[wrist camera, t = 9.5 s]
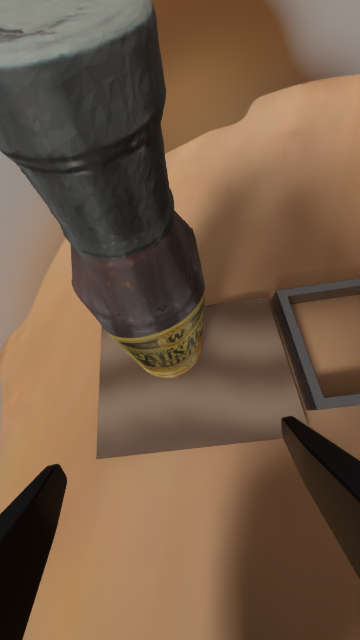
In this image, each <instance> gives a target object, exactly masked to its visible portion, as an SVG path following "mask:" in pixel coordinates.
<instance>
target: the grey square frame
mask: <svg viewBox="0 0 360 640" xmlns="http://www.w3.org/2000/svg"><path fill="white" fill-rule="evenodd" d="M356 294H360V278H358V279H351V280H345V281H338V282H331V283H325V284H318V285H311V286H305V287H298V288H291V289H285V290H278V291H276V293H275V295H274V296H273V298H272V300H271V301H272V304H273V307H274V310H275V313H276V316H277V319H278V322H279V326H280V329H281V332H282V335H283V338H284V341H285V344H286V347H287V350H288V353H289V357H290V360H291V363H292V366H293V369H294V372H295V375H296V378H297V381H298V384H299V388H300V391H301V394H302V397H303V400H304V403H305V406H306V409H307V410H321V409H329V408H338V407H346V406H355V405H360V394H354V395H346V396H338V397H329V398H324V397H323V394H322V392H321V389H320V386H319V383H318V380H317V378H316V375H315V372H314V369H313V367H312V364H311V361H310V358H309V355H308V353H307V350H306V347H305V344H304V342H303V339H302V336H301V333H300V330H299V328H298V325H297V322H296V319H295V316H294V314H293V311H292V308H291V305H290V304H295V303H302V302H308V301H315V300H322V299H329V298H336V297H343V296H349V295H356Z"/></svg>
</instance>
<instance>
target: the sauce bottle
mask: <svg viewBox="0 0 360 640" xmlns="http://www.w3.org/2000/svg"><path fill="white" fill-rule="evenodd" d="M165 98H166V88H165V82H164V74H163V67H162V60H161V54H160V48H159V42H158V32H157V21H156V14H155V10H154V6H153V3H152V0H6V1H2V2H0V151H1V152H2V153H4V154H5V155H6V156H7V157H8V158H10V159H11V160H12V161H14V162H15V163H16V164H17V165H18V166H19V167H20V169H21V171H22V172H23V173H24V174H25V175H26V177H27V178H28V180H29V181H30V182H31V184H32V185H33V187H34V188H35V189H36V191H37V192H38V194H39V195H40V196H41V197H42V199H43V200H44V201H45V203H46V204H47V205H48V207H49V209H50V211H51V213H52V214H53V215H54V217H55V218H56V219H57V220H58V222H59V223H60V226H61V228H62V230H63V234H64V236H65V237H66V239H67V240H68V241H69V242H70V243H71V260H72V286H73V288H74V291H75V293H76V294H77V296H78V297H79V299H80V300H81V301H82V302H83V303H84V304H85V306H86V307H87V308H88V309H89V310H90V311H91V313H92V314H93V315H94V316H95V317H96V319H97V320H98V321H99V322H100V324H101V325H102V327H103V329H104V330H105V331H106V332H107V333H108V334H109V335H110V336H111V337H112V338H113V339H114V340H115V341H116V342H117V343H118V344H119V345H120V346H121V347H122V348H123V349H124V350H125V351H126V352H127V353H128V354H129V355H130V356H131V357H132V358H133V359H134V360H135V361H136V362H137V363H138V364H139V365H140V366H141V367H142V368H143V369H145V370H146V371H147V372H148V373H150V374H152V375H154V376H157V377H160V378H174V377H179V376H181V375H183V374H185V373H187V372H188V371H189V370H190V369H191V368H192V367H193V366H194V364H195V363H196V362H197V360H198V358H199V356H200V353H201V347H202V329H203V309H204V293H205V284H204V279H203V274H202V269H201V264H200V259H199V254H198V249H197V244H196V239H195V235H194V232H193V229H192V228H191V227H189V225H188V224H187V223H186V222H185V221H184V220H183V219H182V218H181V217H180V216H179V215H178V214H177V213H176V212H175V211H174V200H173V195H172V192H171V190H170V188H169V181H168V175H167V168H166V161H165V153H164V142H163V137H162V130H161V123H160V122H161V119H162V115H163V108H164V104H165Z"/></svg>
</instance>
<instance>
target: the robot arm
mask: <svg viewBox="0 0 360 640" xmlns="http://www.w3.org/2000/svg"><path fill="white" fill-rule="evenodd" d="M281 428H282V436H283V439H284V441H285V443H286V445H287V448H288V450H289V452H290V454H291V456H292V458H293V460H294V463H295V465H296V467H297V469H298V471H299V473H300V475H301V478H302V480H303V482H304V483H305V485H306V487H307V489H308V491H309V492H310V494H311V496H312V498H313V499H314V501H315V503H316V504H317V506H318V508H319V510H320V511H321V513H322V515H323V516H324V518H325V520H326V522H327V523H328V525H329V527H330V529H331V530H332V532H333V534H334V535H335V537H336V539H337V541H338V542H339V544H340V546H341V547H342V549H343V551H344V553H345V554H346V556H347V558H348V560H349V561H350V563H351V565H352V566H353V568H354V570H355V572H356V573H357V575H358V577H359V578H360V461H359V460H358V459H356V458H355V457H353V456H352V455H350V454H349V453H347V452H346V451H344V450H343V449H341V448H340V447H338V446H337V445H335V444H334V443H332V442H331V441H329V440H328V439H326V438H325V437H323V436H322V435H320V434H319V433H317V432H316V431H314V430H313V429H311V428H310V427H308V426H307V425H305V424H304V423H302V422H301V421H299V420H298V419H296V418H295V417H293V416H287V417H283V418H282V419H281ZM66 485H67V477H66V475H65V473H64V472H63V470H62V468H61V466H60V465H59V464H54V465H49V466H47V467H46V468H45V469H44V470H43V471H42V472H41V473H40V474H39V475H38V476H37V477H36V478H35V479H34V480H33V481H32V482H31V483H30V484H29V485H28V486H27V487H26V488H25V489H24V490H23V491H22V492H21V493H20V494H19V495H18V497H17V498H16V499H15V500H14V501H13V502H12V503H11V504H10V505H9V506H8V507H7V508H6V509H5V510H4V511H3V512H2V513H1V514H0V640H22V639H23V636H24V633H25V629H26V626H27V623H28V620H29V617H30V613H31V610H32V607H33V604H34V601H35V597H36V594H37V591H38V588H39V584H40V581H41V578H42V575H43V572H44V568H45V565H46V562H47V559H48V555H49V552H50V549H51V546H52V543H53V539H54V536H55V532H56V529H57V525H58V520H59V516H60V512H61V507H62V503H63V498H64V494H65V489H66Z"/></svg>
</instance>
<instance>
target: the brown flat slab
mask: <svg viewBox="0 0 360 640" xmlns="http://www.w3.org/2000/svg"><path fill="white" fill-rule="evenodd" d="M287 416H293V417H295V418H296V419H298V420H299V421H301V422H302V423H304V424H305V425H307V426H308V424H307V421H306V418H305V415H304V411H303V408H302V405H301V402H300V399H299V396H298V392H297V389H296V386H295V383H294V380H293V377H292V373H291V370H290V367H289V364H288V361H287V358H286V355H285V351H284V348H283V345H282V342H281V339H280V336H279V332H278V329H277V326H276V323H275V320H274V317H273V313H272V310H271V307H270V304H269V301H268V298H267V297H261V298H255V299H248V300H241V301H234V302H228V303H221V304H214V305H208V306H204V309H203V329H202V347H201V353H200V356H199V358H198V360H197V362H196V363H195V364H194V366H193V367H192V368H191V369H190V370H189V371H188V372H187V373H185V374H183V375H181V376H179V377H174V378H160V377H157V376H154V375H152V374H150V373H148V372H147V371H146V370H145V369H143V368H142V367H141V366H140V365H139V364H138V363H137V362H136V361H135V360H134V359H133V358H132V357H131V356H130V355H129V354H128V353H127V352H126V351H125V350H124V349H123V348H122V347H121V346H120V345H119V344H118V343H117V342H116V341H115V340H114V339H113V338H112V337H111V336H110V335H109V334H108V333H107V332H106V331H105V330H104V329H103V327H102V333H101V358H100V383H99V408H98V433H97V458H96V459H102V458H111V457H120V456H129V455H138V454H147V453H156V452H164V451H173V450H182V449H191V448H200V447H209V446H218V445H227V444H236V443H245V442H254V441H262V440H271V439H280V438H283V436H282V428H281V419H282V418H283V417H287Z"/></svg>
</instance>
